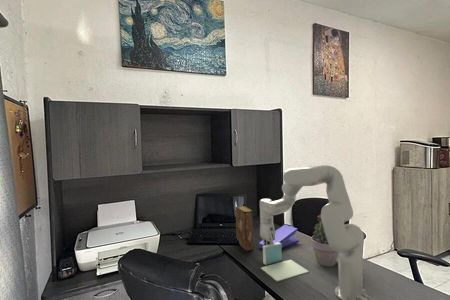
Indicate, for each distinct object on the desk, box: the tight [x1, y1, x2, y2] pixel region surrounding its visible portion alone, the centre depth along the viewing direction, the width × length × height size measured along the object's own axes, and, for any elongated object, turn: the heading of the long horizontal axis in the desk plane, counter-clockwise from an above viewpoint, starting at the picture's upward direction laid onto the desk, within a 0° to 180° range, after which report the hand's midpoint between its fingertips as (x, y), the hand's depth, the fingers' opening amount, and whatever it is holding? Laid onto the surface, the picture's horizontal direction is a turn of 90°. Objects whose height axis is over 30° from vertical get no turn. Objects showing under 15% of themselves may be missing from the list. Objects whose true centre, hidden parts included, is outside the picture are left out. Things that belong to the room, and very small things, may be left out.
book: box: [234, 205, 254, 251], centre depth 171 cm, size 16×6×25 cm, turn 21°
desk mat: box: [260, 259, 310, 283], centre depth 138 cm, size 15×20×1 cm
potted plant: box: [310, 214, 338, 267], centre depth 144 cm, size 18×20×25 cm
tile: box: [262, 242, 283, 266], centre depth 147 cm, size 3×11×10 cm, turn 114°
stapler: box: [258, 224, 299, 250], centre depth 171 cm, size 12×28×10 cm, turn 129°
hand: (267, 250), depth 152 cm, fingers closed
